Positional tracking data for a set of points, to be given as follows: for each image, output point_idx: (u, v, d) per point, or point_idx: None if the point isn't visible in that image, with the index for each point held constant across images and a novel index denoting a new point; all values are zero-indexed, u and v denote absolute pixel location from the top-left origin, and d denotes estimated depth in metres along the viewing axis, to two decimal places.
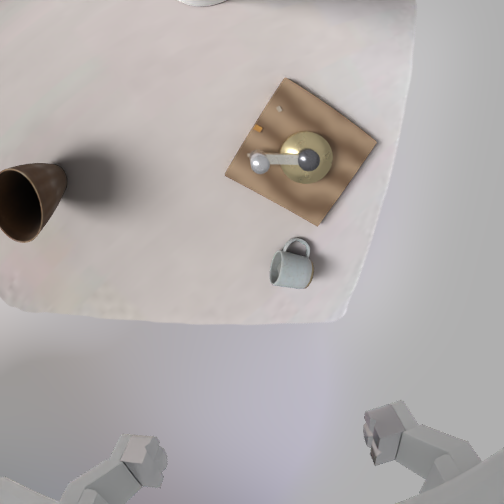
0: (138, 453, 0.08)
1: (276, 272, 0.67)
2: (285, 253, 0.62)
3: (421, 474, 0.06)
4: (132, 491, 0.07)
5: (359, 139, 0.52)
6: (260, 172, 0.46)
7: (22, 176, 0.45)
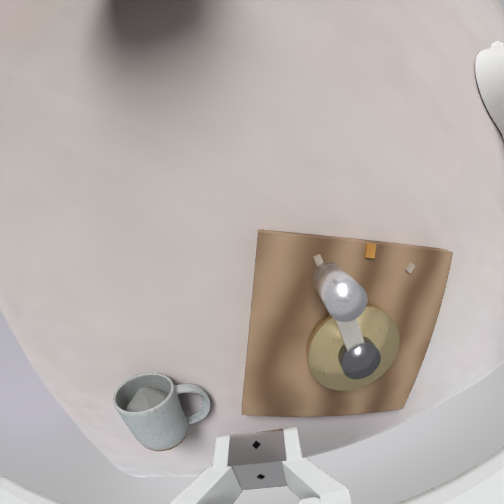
0: (247, 453, 0.08)
1: (133, 389, 0.32)
2: (175, 396, 0.29)
3: None
4: (234, 497, 0.07)
5: (400, 390, 0.31)
6: (332, 311, 0.20)
7: None
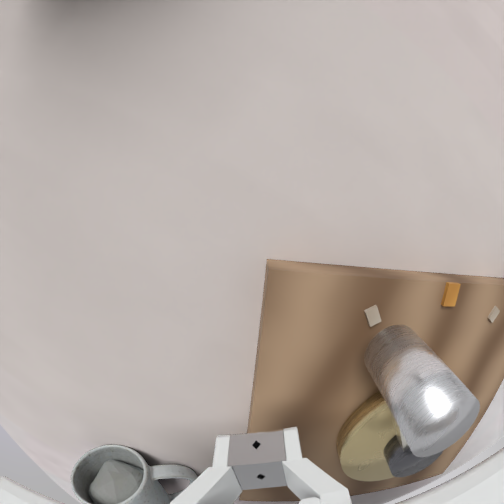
0: (247, 453, 0.08)
1: (98, 461, 0.19)
2: (150, 485, 0.17)
3: None
4: (234, 497, 0.07)
5: (445, 458, 0.18)
6: (417, 447, 0.07)
7: None
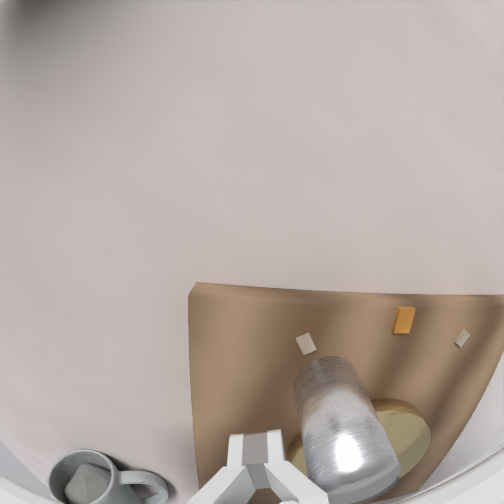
0: (261, 452, 0.08)
1: (74, 464, 0.19)
2: (117, 489, 0.16)
3: None
4: (248, 496, 0.07)
5: (417, 477, 0.18)
6: None
7: None
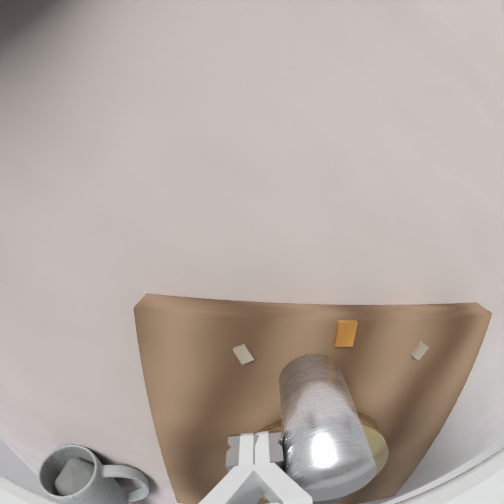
0: (273, 450, 0.08)
1: (64, 458, 0.20)
2: (99, 481, 0.17)
3: None
4: (259, 495, 0.07)
5: (390, 484, 0.18)
6: None
7: None
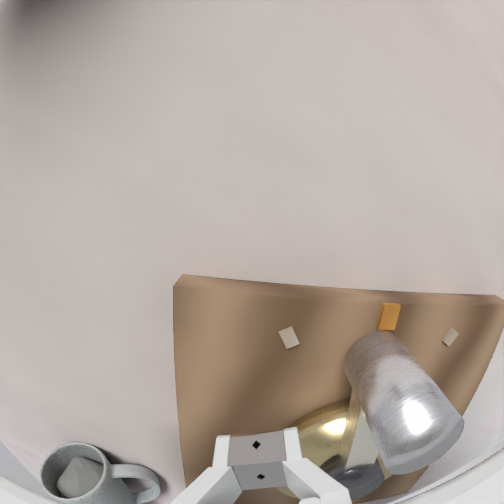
0: (247, 453, 0.08)
1: (67, 457, 0.19)
2: (109, 482, 0.16)
3: None
4: (234, 497, 0.07)
5: (406, 479, 0.18)
6: (393, 458, 0.07)
7: None
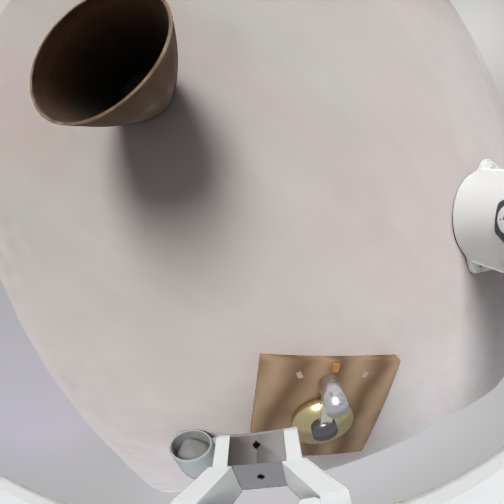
0: (247, 453, 0.08)
1: (180, 440, 0.43)
2: (213, 446, 0.41)
3: None
4: (234, 497, 0.07)
5: (358, 440, 0.43)
6: (328, 411, 0.31)
7: (145, 37, 0.25)
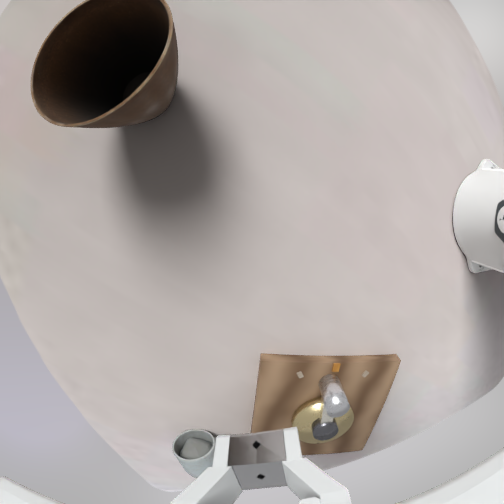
0: (247, 453, 0.08)
1: (183, 439, 0.43)
2: None
3: None
4: (234, 497, 0.07)
5: (358, 440, 0.43)
6: (328, 411, 0.32)
7: (145, 39, 0.25)
